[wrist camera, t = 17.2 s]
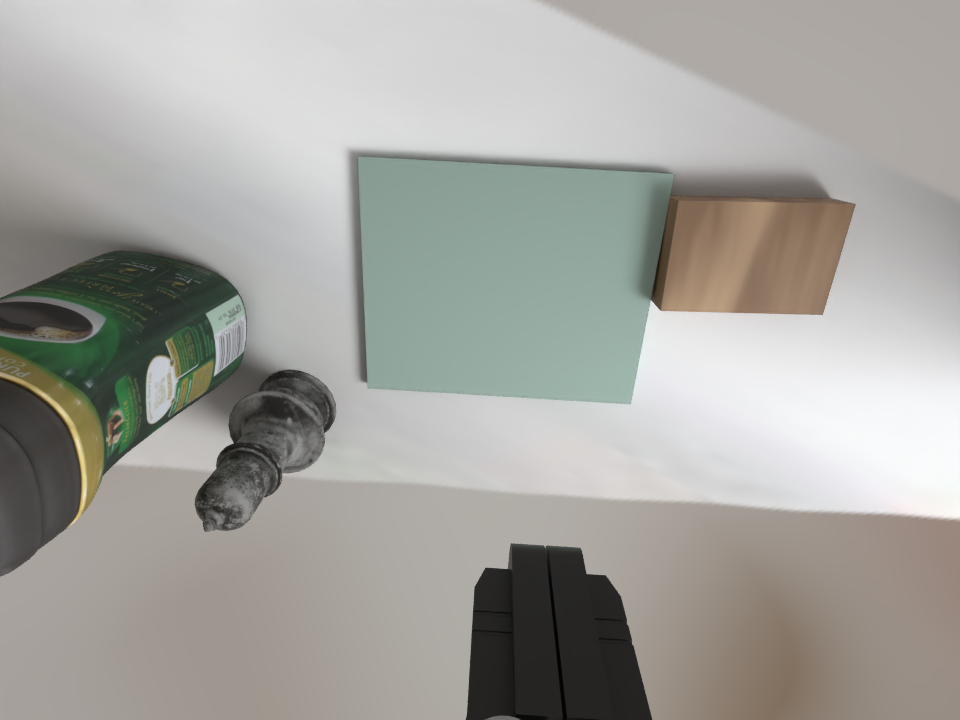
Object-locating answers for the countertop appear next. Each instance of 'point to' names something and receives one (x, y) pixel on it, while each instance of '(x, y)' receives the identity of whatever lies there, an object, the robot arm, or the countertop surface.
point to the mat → (508, 276)
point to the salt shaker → (266, 446)
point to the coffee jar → (100, 379)
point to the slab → (750, 254)
